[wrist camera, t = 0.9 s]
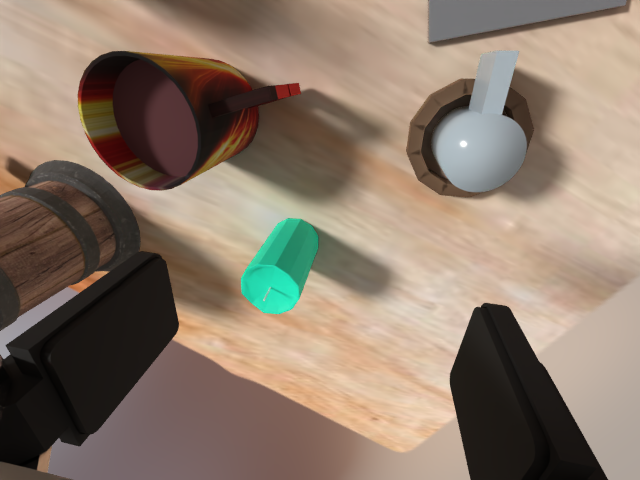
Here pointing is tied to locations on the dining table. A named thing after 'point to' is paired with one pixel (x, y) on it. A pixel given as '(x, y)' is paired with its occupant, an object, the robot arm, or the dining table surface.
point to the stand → (513, 108)
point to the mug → (168, 114)
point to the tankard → (59, 234)
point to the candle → (281, 267)
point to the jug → (482, 131)
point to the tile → (501, 14)
